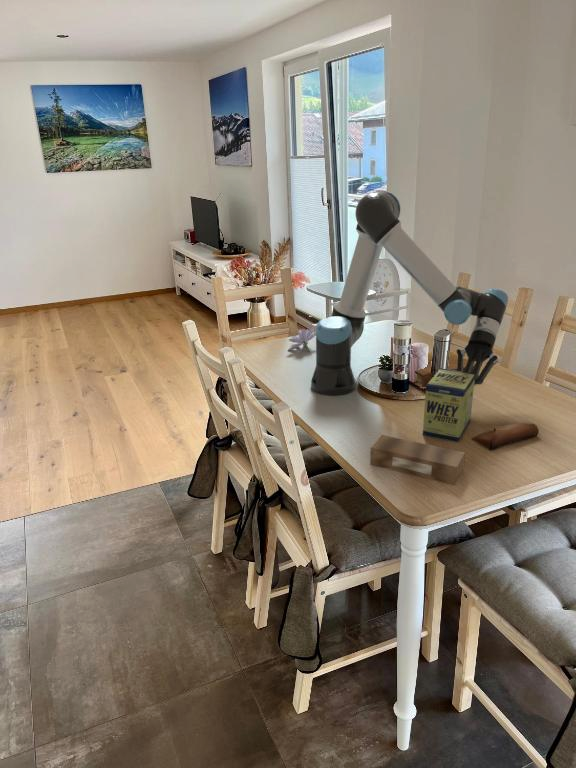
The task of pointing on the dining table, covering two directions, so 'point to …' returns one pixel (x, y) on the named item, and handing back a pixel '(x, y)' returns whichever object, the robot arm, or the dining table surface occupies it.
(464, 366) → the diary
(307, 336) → the water lily
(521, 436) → the sunglasses case
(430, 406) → the protein box
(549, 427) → the dining table surface
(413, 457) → the display riser
